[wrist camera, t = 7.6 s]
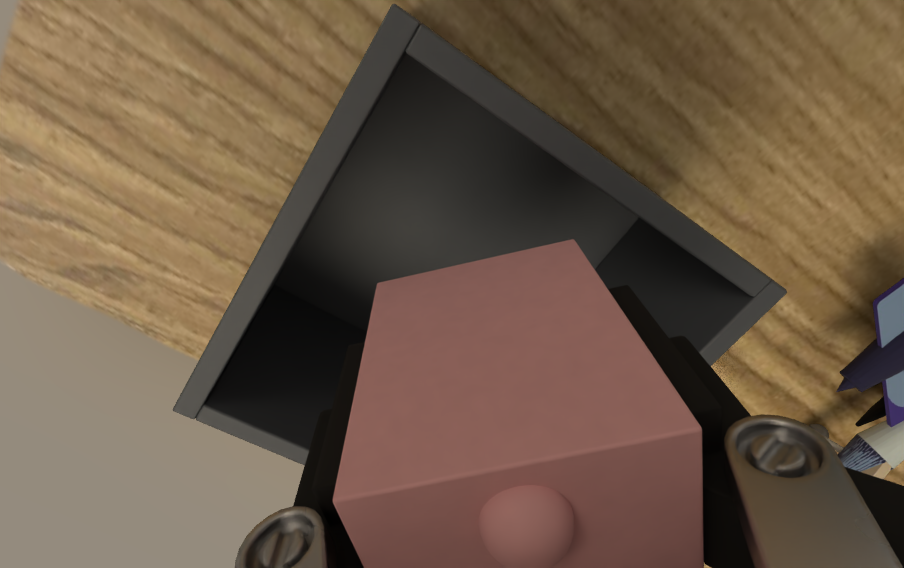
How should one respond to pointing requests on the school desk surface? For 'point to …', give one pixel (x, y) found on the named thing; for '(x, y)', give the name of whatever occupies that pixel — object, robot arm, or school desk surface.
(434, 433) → the pink toy
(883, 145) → the school desk surface
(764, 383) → the school desk surface
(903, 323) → the toy airplane
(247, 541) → the robot arm
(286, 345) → the bin
